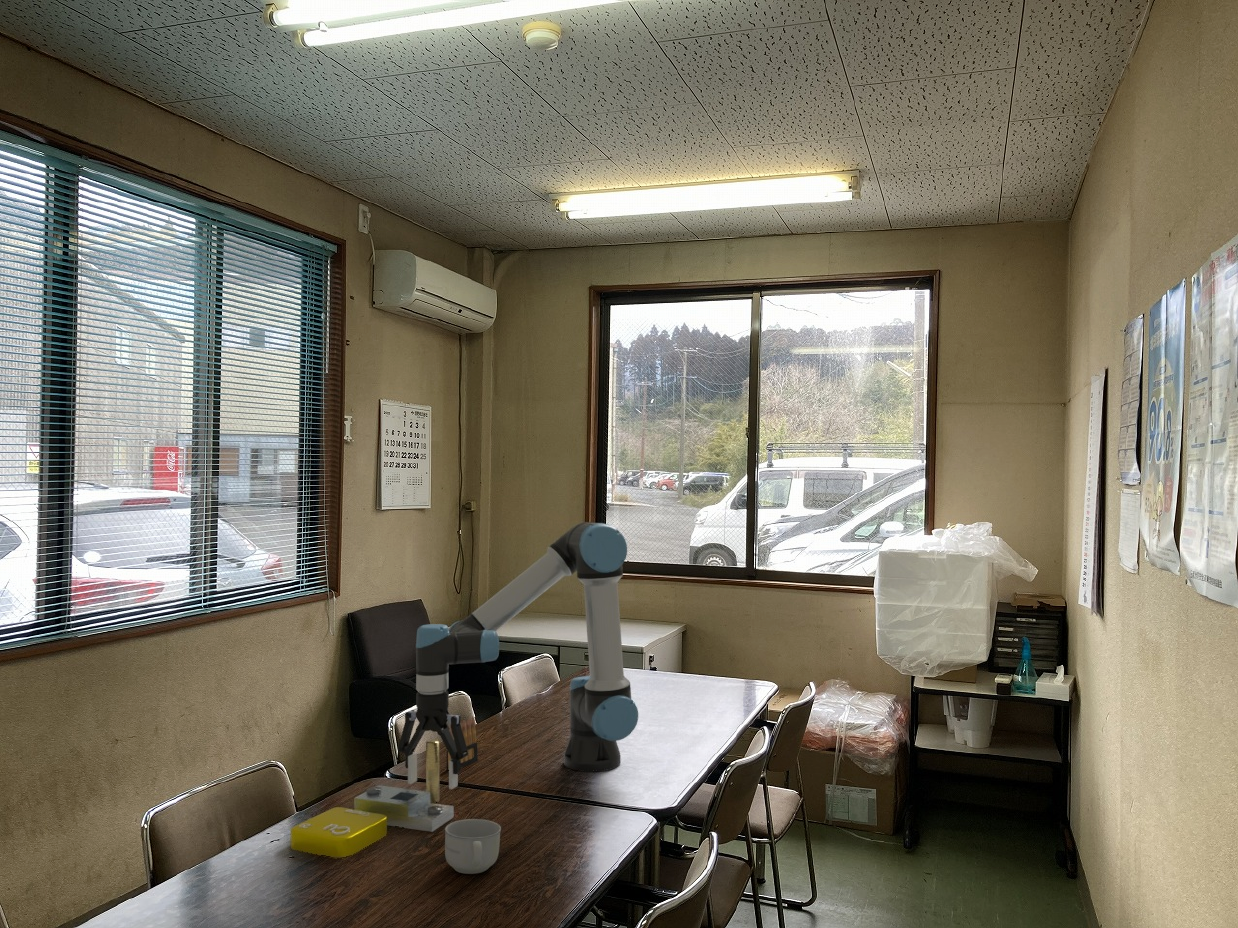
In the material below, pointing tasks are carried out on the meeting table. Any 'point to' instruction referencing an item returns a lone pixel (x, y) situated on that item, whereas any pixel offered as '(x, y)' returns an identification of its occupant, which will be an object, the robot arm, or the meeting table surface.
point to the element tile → (338, 832)
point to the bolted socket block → (404, 807)
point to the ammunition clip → (467, 743)
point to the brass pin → (432, 770)
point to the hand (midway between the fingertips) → (432, 784)
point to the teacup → (472, 845)
